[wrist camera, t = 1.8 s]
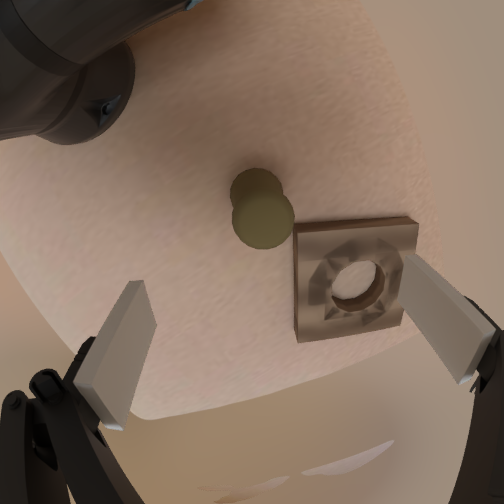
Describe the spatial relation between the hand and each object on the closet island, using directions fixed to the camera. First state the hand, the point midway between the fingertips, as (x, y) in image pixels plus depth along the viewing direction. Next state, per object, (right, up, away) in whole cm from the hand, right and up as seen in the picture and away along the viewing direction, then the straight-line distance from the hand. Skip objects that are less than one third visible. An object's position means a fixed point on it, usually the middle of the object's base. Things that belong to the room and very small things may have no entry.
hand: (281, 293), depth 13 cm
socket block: (+12, -1, +24) cm, 27 cm away
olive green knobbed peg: (-1, +9, +19) cm, 21 cm away
